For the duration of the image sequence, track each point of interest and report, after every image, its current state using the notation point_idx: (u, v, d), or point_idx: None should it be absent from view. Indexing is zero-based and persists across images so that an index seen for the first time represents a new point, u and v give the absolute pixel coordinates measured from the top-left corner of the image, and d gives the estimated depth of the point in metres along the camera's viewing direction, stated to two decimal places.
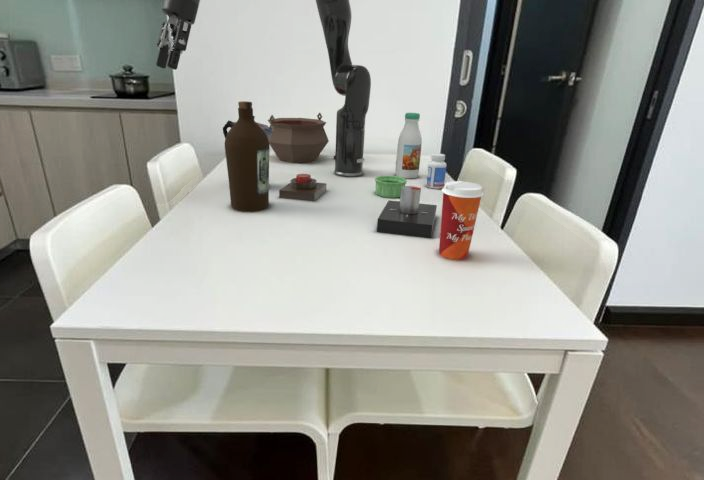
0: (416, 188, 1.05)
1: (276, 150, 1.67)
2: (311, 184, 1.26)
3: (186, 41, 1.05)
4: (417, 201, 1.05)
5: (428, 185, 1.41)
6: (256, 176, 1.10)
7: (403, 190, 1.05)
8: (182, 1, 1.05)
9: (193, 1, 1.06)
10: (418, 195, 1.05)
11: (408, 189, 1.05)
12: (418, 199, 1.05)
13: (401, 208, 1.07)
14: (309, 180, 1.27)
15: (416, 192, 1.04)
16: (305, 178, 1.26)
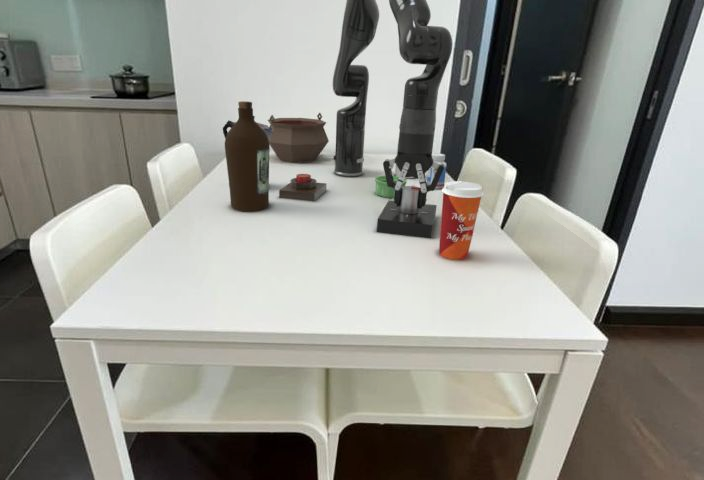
0: (416, 188, 1.05)
1: (276, 150, 1.67)
2: (311, 184, 1.26)
3: None
4: (417, 201, 1.05)
5: None
6: (256, 176, 1.10)
7: (403, 190, 1.05)
8: (432, 139, 0.99)
9: None
10: (418, 195, 1.05)
11: (408, 189, 1.05)
12: (418, 199, 1.05)
13: (401, 208, 1.07)
14: (309, 180, 1.27)
15: (416, 192, 1.04)
16: (305, 178, 1.26)
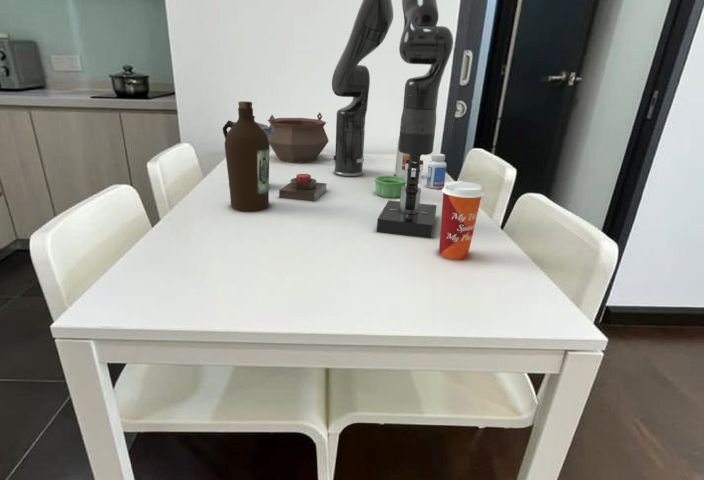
0: None
1: (276, 150, 1.67)
2: (311, 184, 1.26)
3: (416, 186, 1.00)
4: (403, 200, 1.05)
5: (428, 185, 1.41)
6: (256, 176, 1.10)
7: None
8: (412, 140, 0.98)
9: (424, 135, 0.97)
10: (405, 195, 1.05)
11: (405, 187, 1.06)
12: (405, 199, 1.05)
13: None
14: (309, 180, 1.27)
15: (402, 191, 1.05)
16: (305, 178, 1.26)
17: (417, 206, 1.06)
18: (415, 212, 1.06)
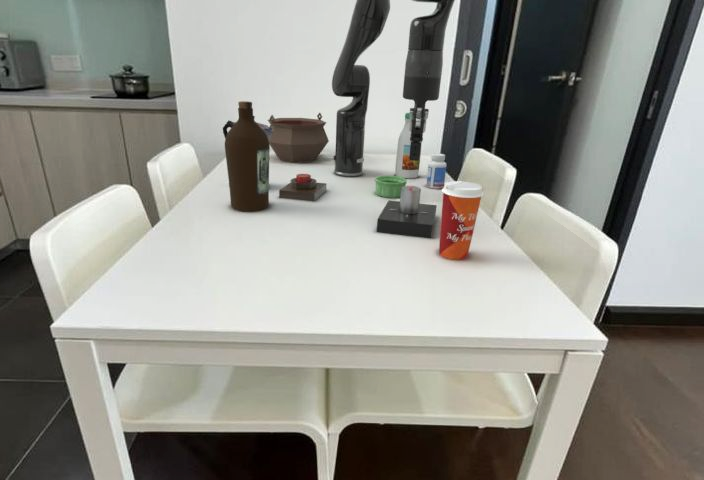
0: (409, 188, 1.05)
1: (276, 150, 1.67)
2: (311, 184, 1.26)
3: (421, 135, 0.97)
4: (404, 200, 1.05)
5: (428, 185, 1.41)
6: (256, 176, 1.10)
7: None
8: (417, 84, 0.93)
9: (429, 78, 0.92)
10: (405, 195, 1.05)
11: (405, 187, 1.06)
12: (405, 199, 1.05)
13: None
14: (309, 180, 1.27)
15: (402, 191, 1.05)
16: (305, 178, 1.26)
17: (417, 206, 1.06)
18: (415, 212, 1.06)
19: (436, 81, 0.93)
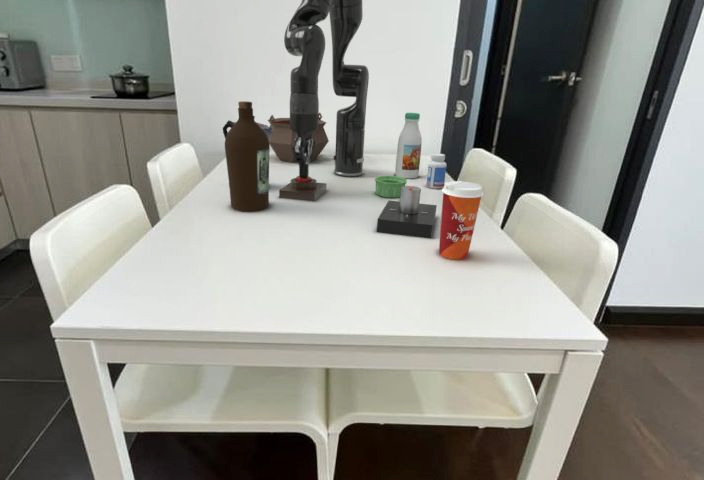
0: (409, 188, 1.05)
1: (276, 150, 1.67)
2: (311, 184, 1.26)
3: (302, 159, 1.22)
4: (404, 200, 1.05)
5: (428, 185, 1.41)
6: (256, 176, 1.10)
7: None
8: (296, 119, 1.18)
9: (305, 114, 1.17)
10: (405, 195, 1.05)
11: (405, 187, 1.06)
12: (405, 199, 1.05)
13: None
14: None
15: (402, 191, 1.05)
16: (305, 180, 1.26)
17: (417, 206, 1.06)
18: (415, 212, 1.06)
19: (311, 117, 1.18)
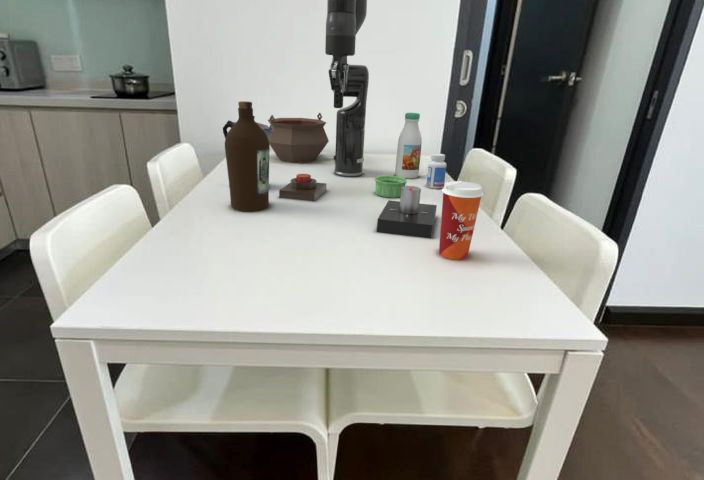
0: (409, 188, 1.05)
1: (276, 150, 1.67)
2: (311, 184, 1.26)
3: (338, 85, 1.17)
4: (404, 200, 1.05)
5: (428, 185, 1.41)
6: (256, 176, 1.10)
7: None
8: (333, 41, 1.13)
9: (342, 36, 1.12)
10: (405, 195, 1.05)
11: (405, 187, 1.06)
12: (405, 199, 1.05)
13: None
14: (309, 180, 1.27)
15: (402, 191, 1.05)
16: (305, 178, 1.26)
17: (417, 206, 1.06)
18: (415, 212, 1.06)
19: (349, 38, 1.13)
